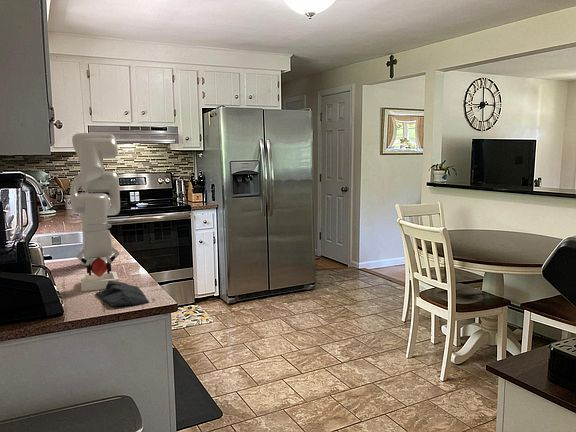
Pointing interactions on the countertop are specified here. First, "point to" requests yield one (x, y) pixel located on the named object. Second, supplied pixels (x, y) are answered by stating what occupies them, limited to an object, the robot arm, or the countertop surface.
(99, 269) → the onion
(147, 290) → the countertop surface
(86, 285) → the dish
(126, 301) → the dark grey folded cloth
